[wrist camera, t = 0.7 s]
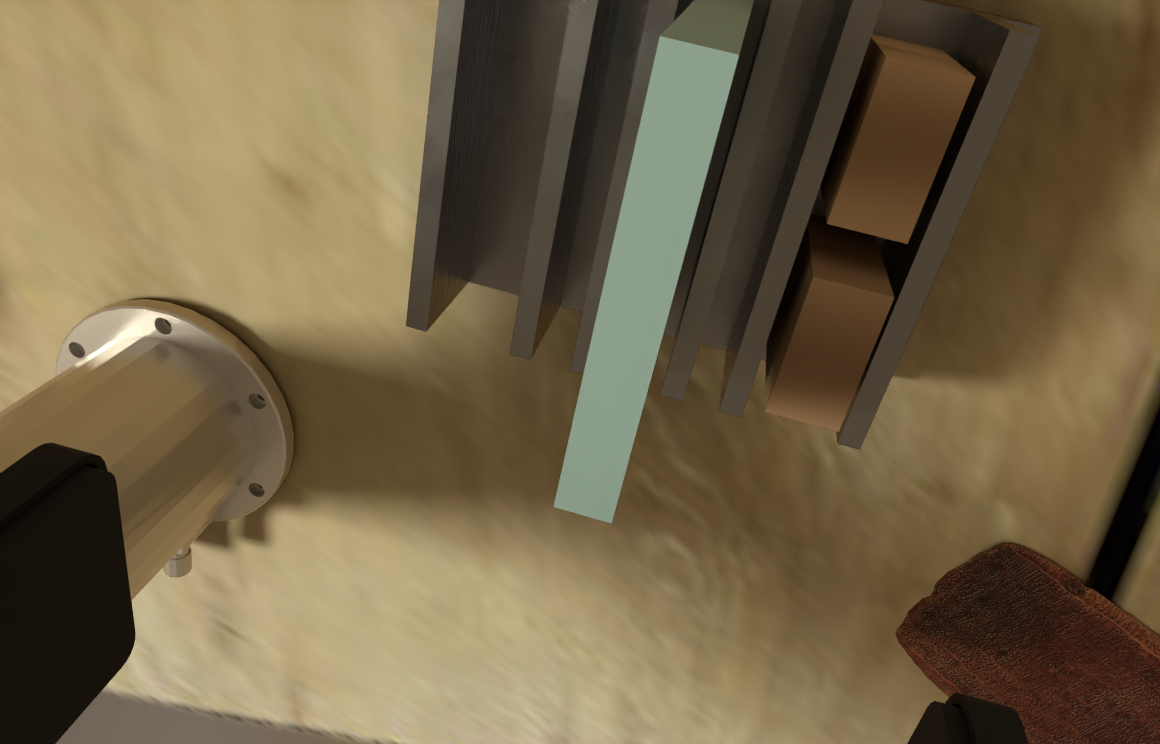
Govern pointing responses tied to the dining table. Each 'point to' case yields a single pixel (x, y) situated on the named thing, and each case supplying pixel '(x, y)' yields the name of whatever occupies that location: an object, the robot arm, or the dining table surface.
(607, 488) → the teal sheet
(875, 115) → the short walnut offcut
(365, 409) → the dining table surface
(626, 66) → the rack
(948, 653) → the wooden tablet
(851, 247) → the tall walnut offcut
